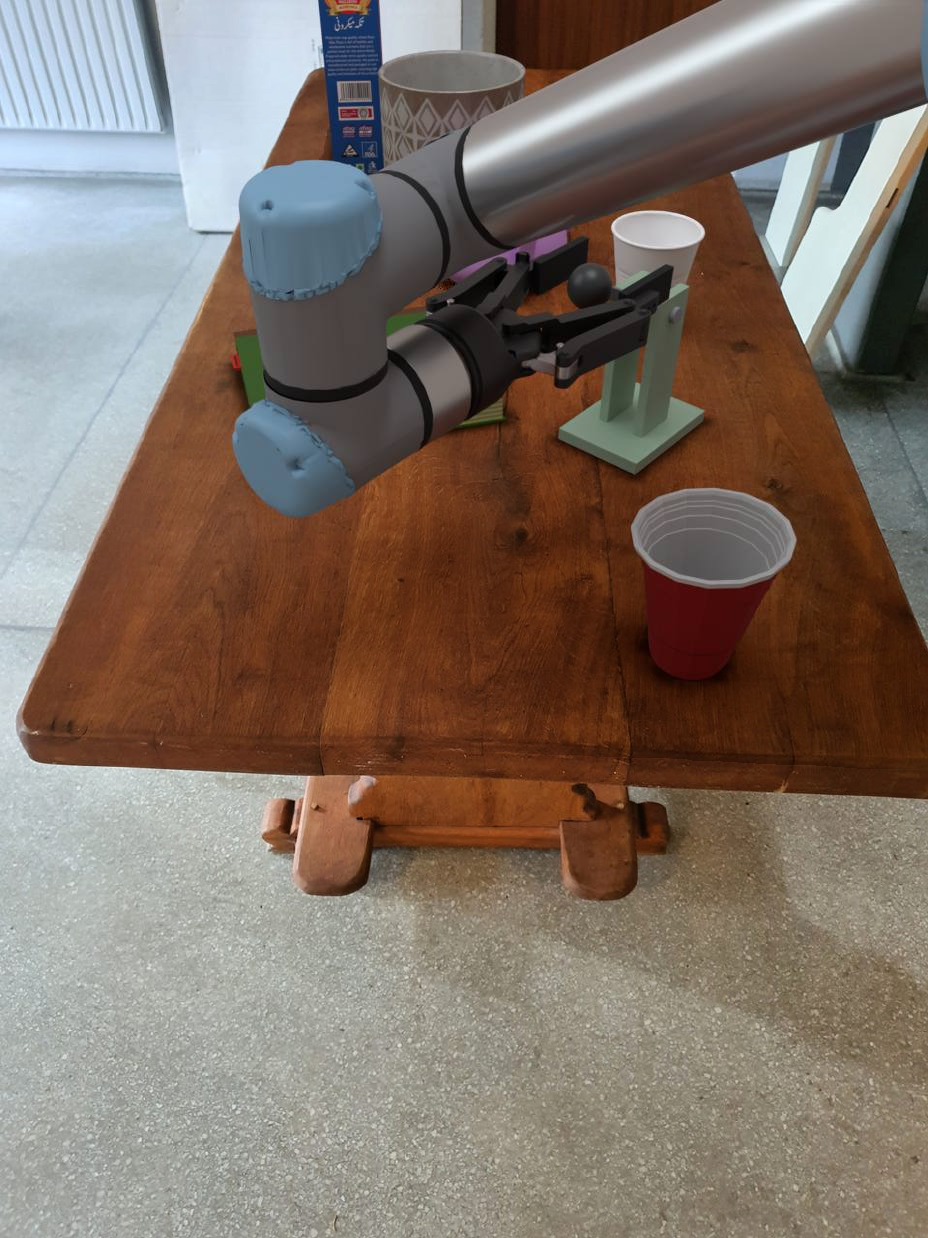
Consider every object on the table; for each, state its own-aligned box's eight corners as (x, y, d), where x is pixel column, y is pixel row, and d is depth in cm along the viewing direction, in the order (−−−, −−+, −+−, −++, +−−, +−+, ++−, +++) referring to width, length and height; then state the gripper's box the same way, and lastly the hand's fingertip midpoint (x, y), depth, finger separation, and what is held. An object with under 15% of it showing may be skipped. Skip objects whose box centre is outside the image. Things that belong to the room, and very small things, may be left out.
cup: (694, 345, 105) (712, 247, 97) (605, 345, 105) (616, 247, 97) (681, 304, 112) (697, 209, 104) (597, 303, 112) (607, 209, 104)
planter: (418, 235, 126) (413, 99, 115) (366, 186, 139) (356, 59, 127) (544, 210, 132) (552, 79, 121) (484, 165, 145) (485, 43, 133)
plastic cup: (653, 584, 77) (676, 462, 69) (780, 639, 72) (821, 515, 64) (586, 664, 71) (602, 540, 62) (720, 729, 66) (757, 606, 58)
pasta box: (387, 173, 142) (375, -51, 123) (334, 175, 142) (313, -50, 122) (385, 114, 162) (374, -88, 143) (338, 115, 162) (321, -87, 142)
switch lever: (589, 313, 73) (606, 266, 72) (552, 299, 75) (568, 253, 74) (665, 333, 85) (680, 293, 83) (631, 321, 86) (646, 281, 85)
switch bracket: (634, 475, 88) (657, 327, 77) (557, 439, 92) (569, 293, 82) (703, 421, 94) (732, 277, 84) (628, 389, 98) (647, 249, 88)
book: (454, 333, 107) (454, 302, 104) (505, 421, 94) (506, 387, 92) (232, 365, 102) (226, 333, 100) (253, 462, 89) (247, 428, 87)
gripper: (340, 373, 73) (525, 274, 85) (549, 477, 63) (725, 349, 75) (330, 279, 68) (529, 188, 80) (557, 377, 58) (744, 257, 70)
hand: (624, 266), depth 78 cm, fingers open, 8 cm apart
